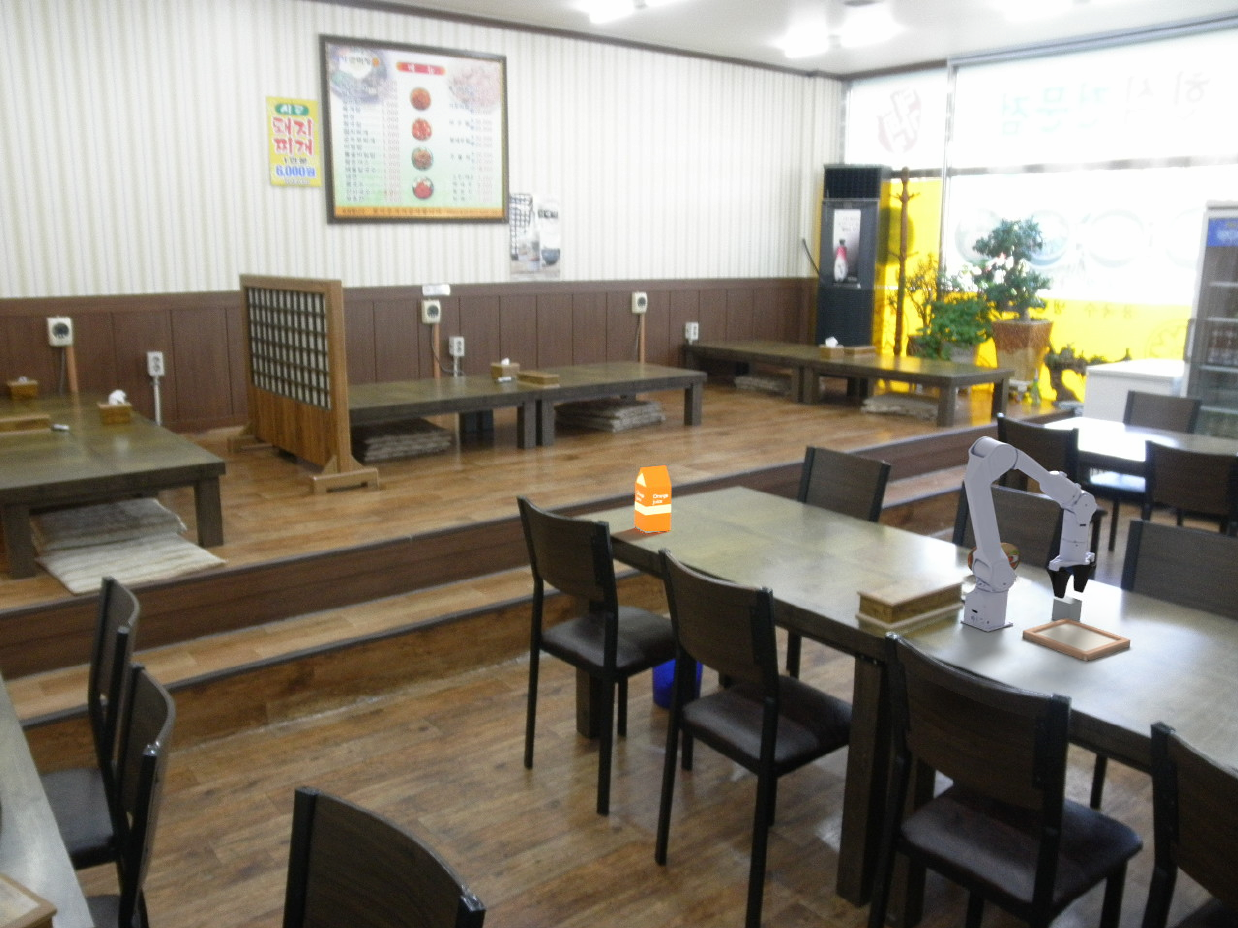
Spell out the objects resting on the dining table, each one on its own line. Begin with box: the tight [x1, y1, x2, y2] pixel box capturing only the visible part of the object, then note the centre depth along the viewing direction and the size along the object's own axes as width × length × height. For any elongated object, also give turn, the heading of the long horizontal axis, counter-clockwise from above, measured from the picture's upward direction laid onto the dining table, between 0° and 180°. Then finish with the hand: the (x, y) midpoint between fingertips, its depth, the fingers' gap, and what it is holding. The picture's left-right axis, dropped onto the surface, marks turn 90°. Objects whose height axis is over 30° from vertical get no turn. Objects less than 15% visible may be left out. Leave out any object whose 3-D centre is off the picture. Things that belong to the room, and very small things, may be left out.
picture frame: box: [1022, 618, 1131, 662], centre depth 232 cm, size 16×16×2 cm
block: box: [1051, 594, 1083, 622], centre depth 246 cm, size 4×4×5 cm
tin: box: [967, 542, 1021, 572], centre depth 279 cm, size 15×3×8 cm, turn 105°
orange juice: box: [634, 465, 672, 532], centre depth 317 cm, size 8×9×20 cm
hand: (1068, 594), depth 245 cm, fingers open, 7 cm apart
